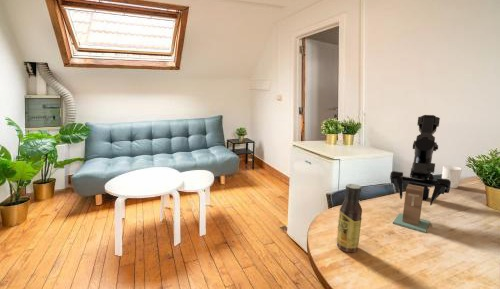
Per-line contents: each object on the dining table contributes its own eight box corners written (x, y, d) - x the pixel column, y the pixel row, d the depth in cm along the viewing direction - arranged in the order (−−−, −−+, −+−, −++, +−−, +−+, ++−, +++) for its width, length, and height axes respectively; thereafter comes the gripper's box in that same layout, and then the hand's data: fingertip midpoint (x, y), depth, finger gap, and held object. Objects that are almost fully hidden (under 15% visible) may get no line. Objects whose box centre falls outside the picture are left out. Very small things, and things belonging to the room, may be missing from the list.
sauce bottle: (333, 242, 82) (337, 181, 79) (352, 241, 83) (357, 181, 79) (342, 254, 76) (347, 189, 72) (362, 253, 76) (368, 188, 73)
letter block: (404, 216, 99) (408, 184, 97) (419, 220, 96) (424, 186, 94) (402, 221, 95) (406, 187, 93) (418, 226, 92) (422, 190, 90)
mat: (392, 223, 95) (392, 221, 95) (399, 214, 103) (399, 213, 103) (425, 232, 89) (425, 231, 89) (429, 222, 96) (430, 221, 96)
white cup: (456, 185, 139) (459, 166, 138) (460, 189, 132) (463, 170, 131) (438, 182, 143) (441, 165, 141) (442, 187, 136) (444, 168, 134)
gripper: (393, 150, 101) (385, 185, 95) (454, 157, 90) (449, 197, 84) (394, 166, 109) (387, 199, 102) (450, 174, 98) (446, 211, 91)
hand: (415, 201), depth 95 cm, fingers open, 9 cm apart
